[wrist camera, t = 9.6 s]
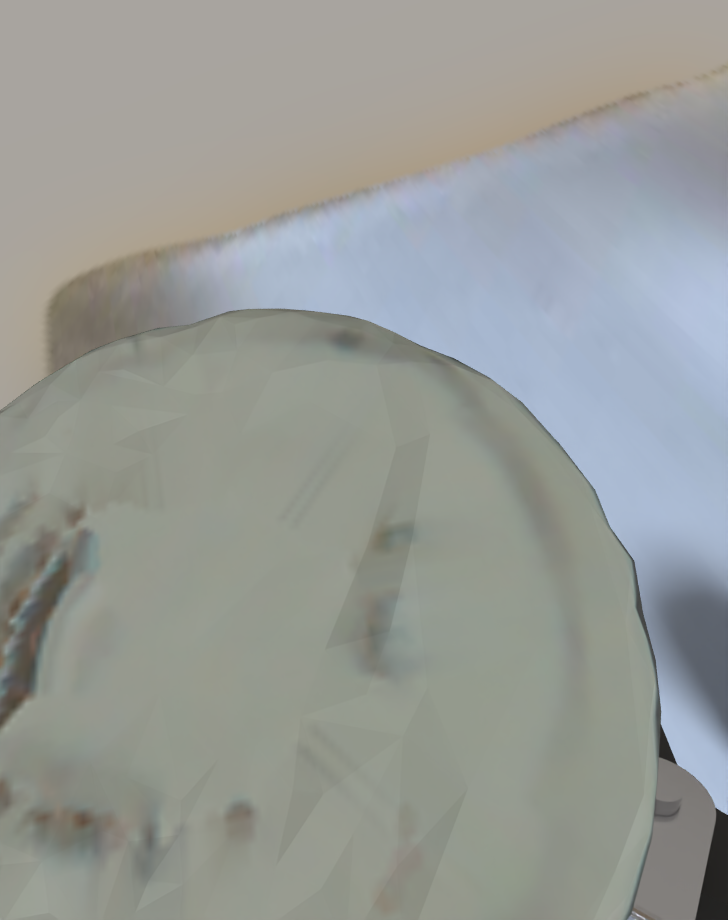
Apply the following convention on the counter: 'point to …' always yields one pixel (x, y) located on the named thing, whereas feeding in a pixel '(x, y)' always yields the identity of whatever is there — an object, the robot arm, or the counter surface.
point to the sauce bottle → (311, 640)
